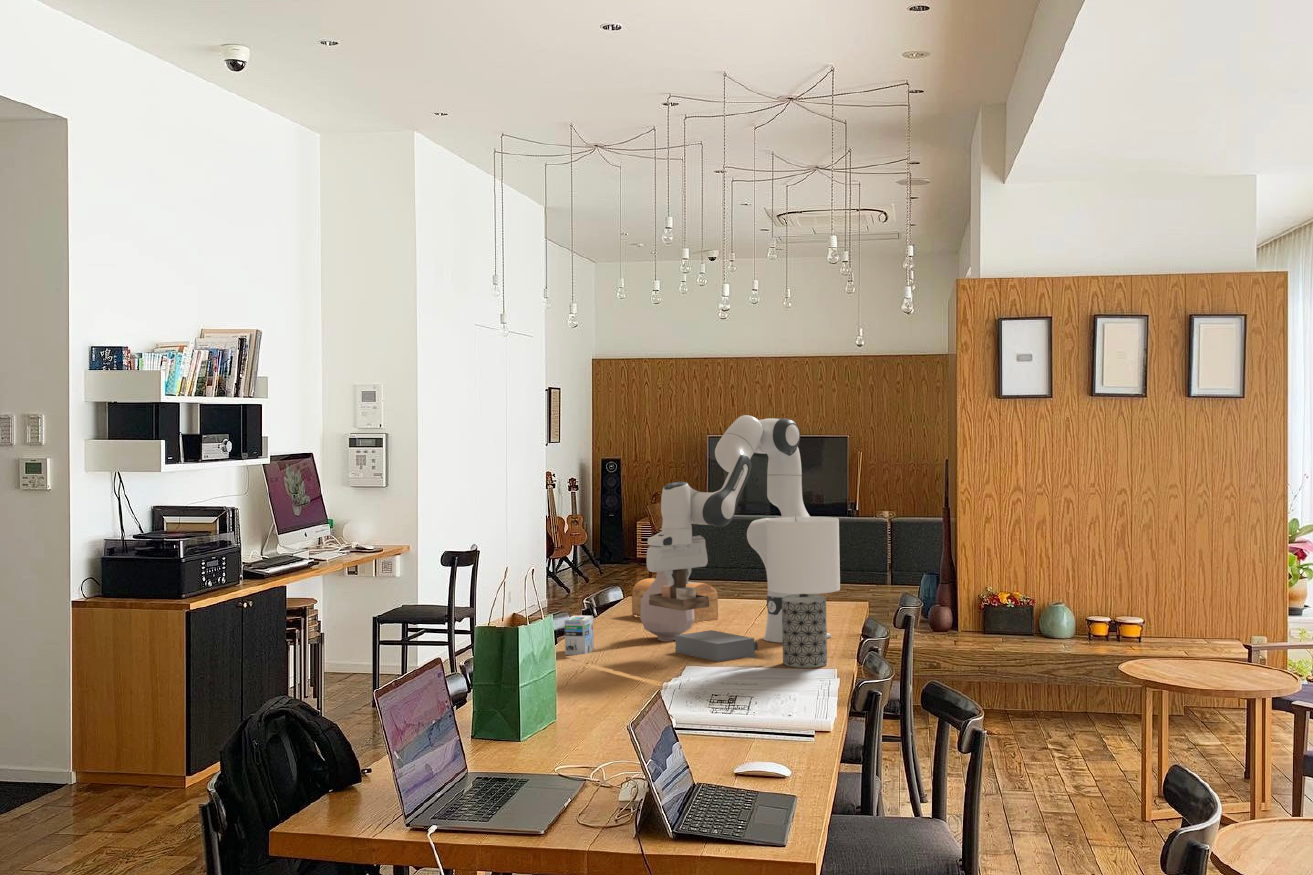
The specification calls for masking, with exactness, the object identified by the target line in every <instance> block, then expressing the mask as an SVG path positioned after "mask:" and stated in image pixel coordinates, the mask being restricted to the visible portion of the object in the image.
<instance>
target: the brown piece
mask: <svg viewBox="0 0 1313 875" xmlns="http://www.w3.org/2000/svg"><path fill="white" fill-rule="evenodd" d="M671 575H672V577H673V579H675V580H676V582H675V583H676V585H675V586H671V598H668V597H662V593H658V594H651V595H649V597H650V600H649V605H653V606H658V607H664V608H669V609H675V610H680V611H684V610H691V609H698V608H705V607H709V600H708V596H703V595H697V594H696V598H692V599H685V600H680V599H677V598H676V588H683V587H686V570H683V569H679V570H673V574H671Z"/></svg>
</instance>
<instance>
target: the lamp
mask: <svg viewBox="0 0 1313 875" xmlns="http://www.w3.org/2000/svg"><path fill="white" fill-rule="evenodd" d="M768 518H769V519H766V528H767V572H766V580H767V591H768V590H769V591H772V592H777V593H788V594H791V595H786V596H785V597H783V598H782V636H783V643H782V664H783V665H784V666H786V667H789V668H794V669H795V668H796V669H815V668H816V669H817V668H822V667H825V666H826V665H827V663H828V641H827V640H828V638H827V633H828V630H827V629H828V628H827V598H826V597H824V596H823V595H821V594H828V593H834V592H838V591H840V590H841V573H840V572H841V570H840V569H841V568H840V567H841V565H840V564H841V563H840V562H841V560H840V519H839V518H838V517H830V516H810V517H782V516H779V517H768Z"/></svg>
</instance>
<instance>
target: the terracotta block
mask: <svg viewBox="0 0 1313 875" xmlns="http://www.w3.org/2000/svg"><path fill="white" fill-rule="evenodd" d="M661 592H662V597H668V598H671V586H669V585H666V586H661Z"/></svg>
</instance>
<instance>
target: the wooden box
mask: <svg viewBox="0 0 1313 875" xmlns="http://www.w3.org/2000/svg"><path fill="white" fill-rule="evenodd" d="M655 579H656V577H653V578H652V577H651V578H644V579H641V580H638V581H637V582H636V583H635V584H634V586H633V587H632V590H631V612H632V614H631V615H632V616H633V615H637V616H640V615H641V598H642V597H643V595H644V594H645V593H646V591H647V590H648V588H649V587H650V586H651V584H652V583H653V582H654V580H655ZM686 587H691V588H696V594H697V595H703V596H708V600H709V607H705V608H698V609H694V616H695V619H694V622H693V623H696V624H698V623H697V622H702V623H704V622H703V621H707V622H712V621H718V620H719V605H718V604H719V603H718V602H719V600H718V599H719V598H718V591H717V590H716V589H715V588H714V587H713V586H712V585H710V584H708V583H704V582H695V581H688V584H686Z"/></svg>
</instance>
